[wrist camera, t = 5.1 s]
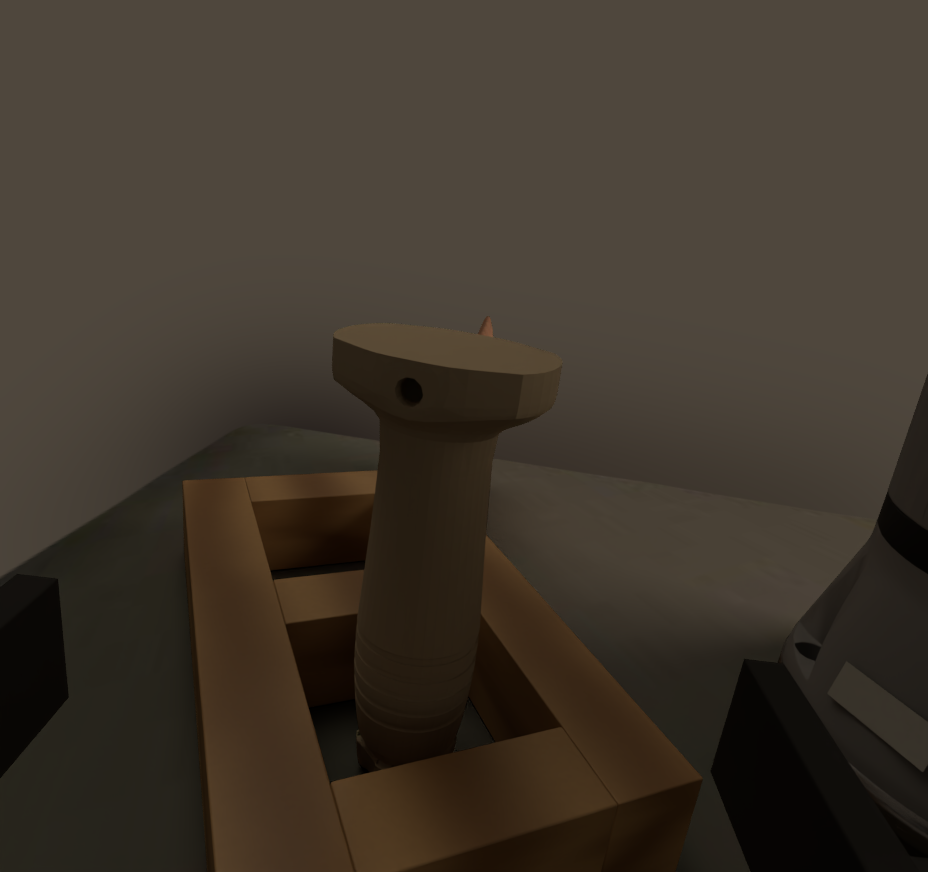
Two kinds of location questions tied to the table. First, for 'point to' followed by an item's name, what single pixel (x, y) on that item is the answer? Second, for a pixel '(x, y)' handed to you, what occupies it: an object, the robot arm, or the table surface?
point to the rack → (332, 680)
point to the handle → (429, 520)
